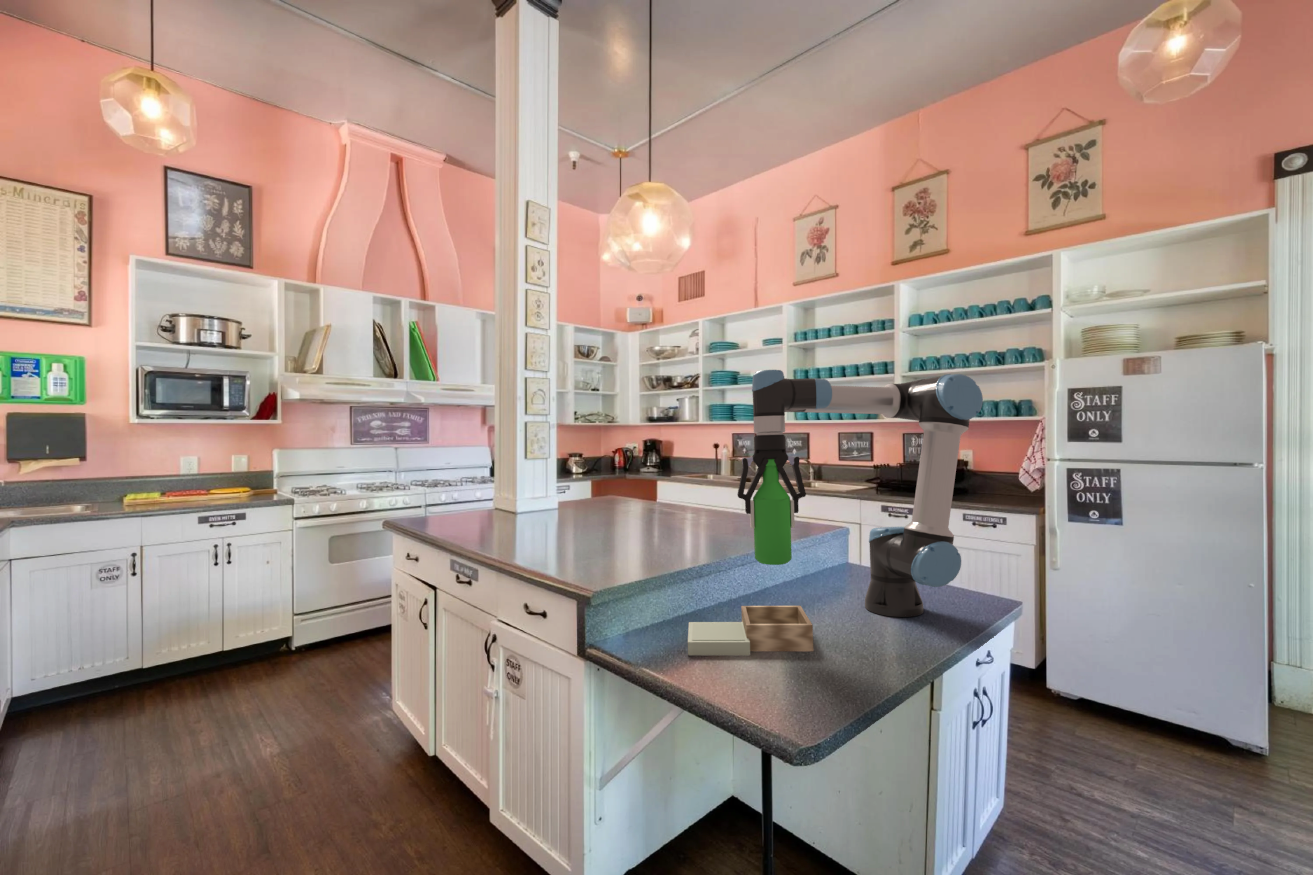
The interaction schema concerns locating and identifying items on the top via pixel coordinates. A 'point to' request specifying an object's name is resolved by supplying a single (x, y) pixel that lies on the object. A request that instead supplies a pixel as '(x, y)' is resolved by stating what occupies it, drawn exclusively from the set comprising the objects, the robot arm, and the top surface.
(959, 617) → the top surface
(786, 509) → the bottle
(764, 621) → the open square wooden frame
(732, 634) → the stand block
